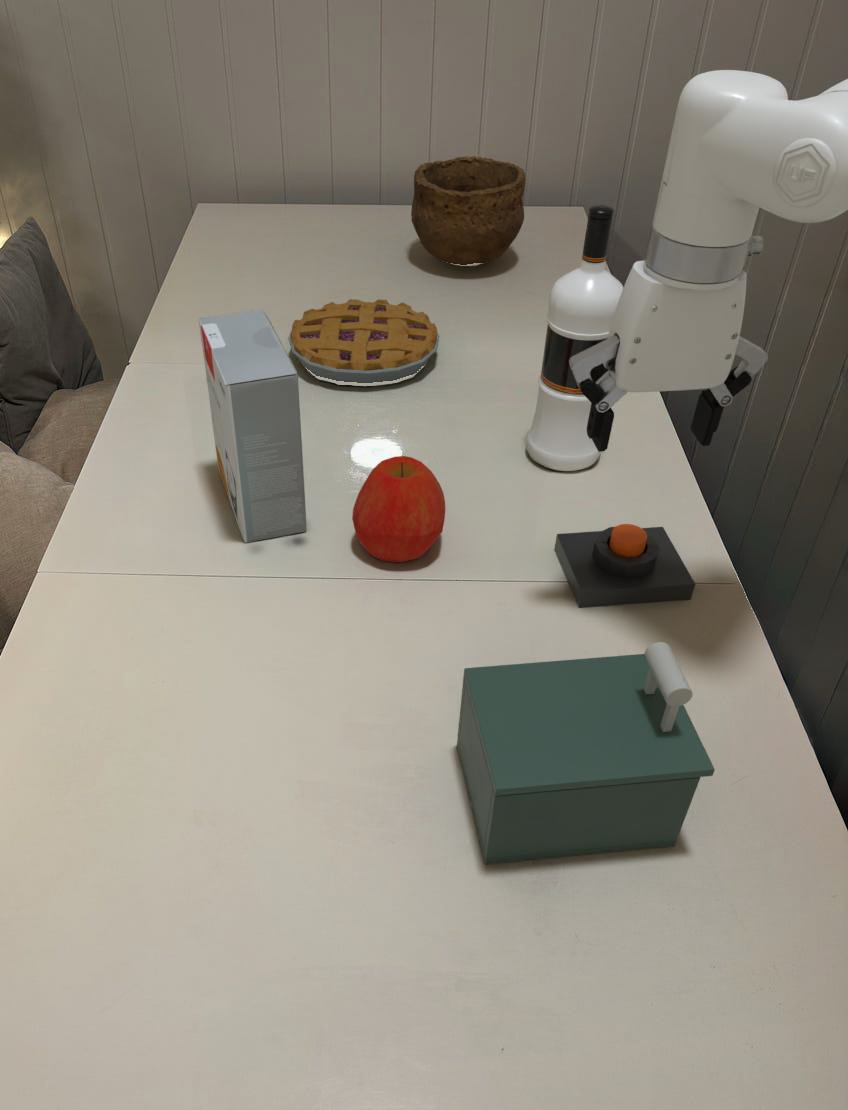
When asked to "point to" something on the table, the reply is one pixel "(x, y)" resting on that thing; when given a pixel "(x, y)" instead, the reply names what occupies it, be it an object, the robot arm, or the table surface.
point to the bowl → (468, 208)
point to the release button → (628, 540)
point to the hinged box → (567, 810)
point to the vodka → (574, 352)
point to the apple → (399, 510)
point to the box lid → (586, 722)
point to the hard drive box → (255, 423)
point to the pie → (363, 341)
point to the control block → (622, 570)
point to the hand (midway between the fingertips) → (648, 440)
